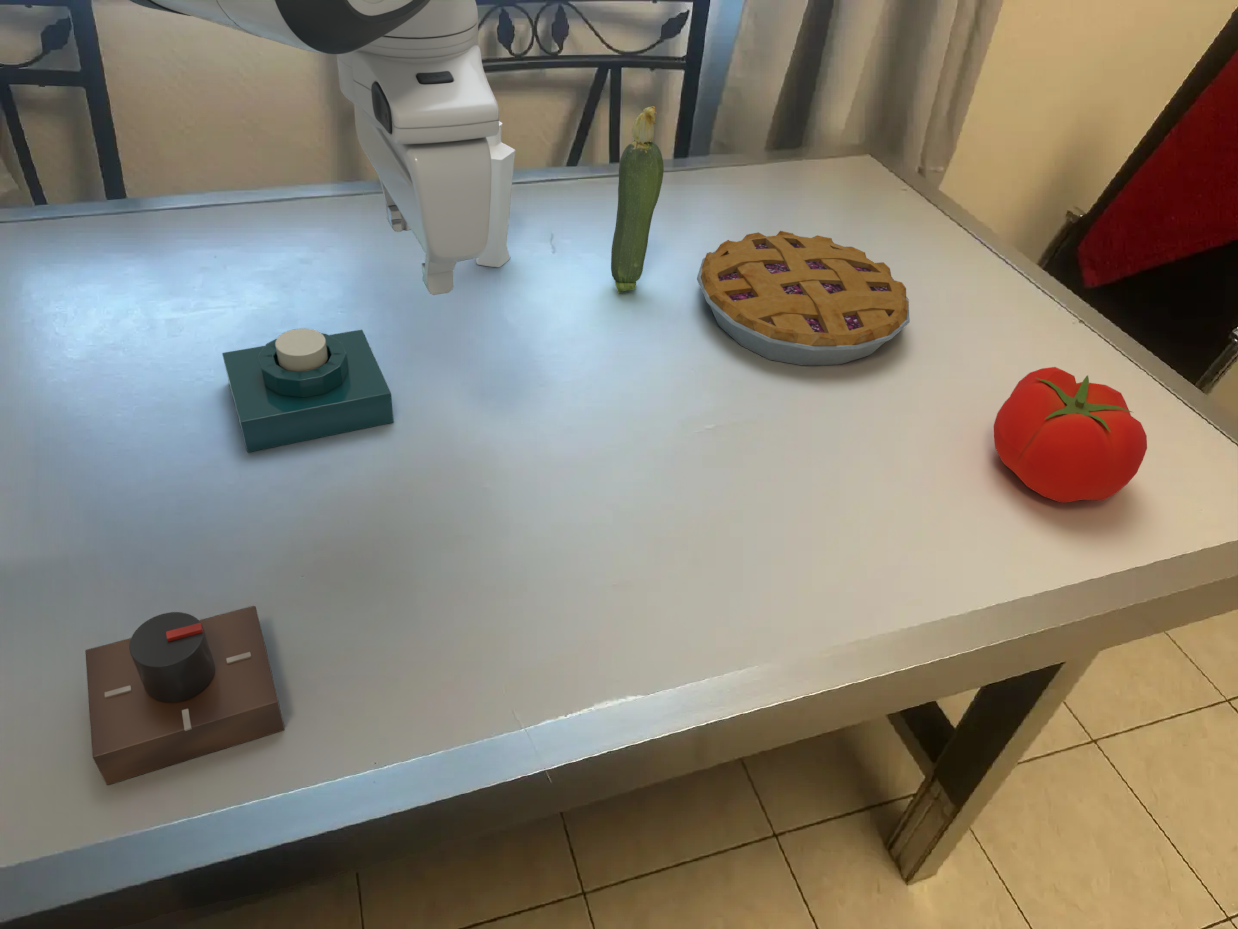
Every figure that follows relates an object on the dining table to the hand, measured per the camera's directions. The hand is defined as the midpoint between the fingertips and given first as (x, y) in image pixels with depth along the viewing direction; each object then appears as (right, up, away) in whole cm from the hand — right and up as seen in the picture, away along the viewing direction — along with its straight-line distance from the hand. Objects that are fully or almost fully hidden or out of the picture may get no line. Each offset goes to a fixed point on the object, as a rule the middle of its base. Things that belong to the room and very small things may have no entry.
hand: (418, 256), depth 70 cm
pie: (+33, 0, +31) cm, 45 cm away
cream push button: (-12, -6, +10) cm, 17 cm away
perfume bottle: (+1, +7, +34) cm, 35 cm away
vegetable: (+16, +3, +32) cm, 36 cm away
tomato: (+53, -16, +15) cm, 57 cm away
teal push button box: (-12, -10, +13) cm, 20 cm away
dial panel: (-12, -30, -10) cm, 34 cm away
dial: (-12, -28, -12) cm, 33 cm away
